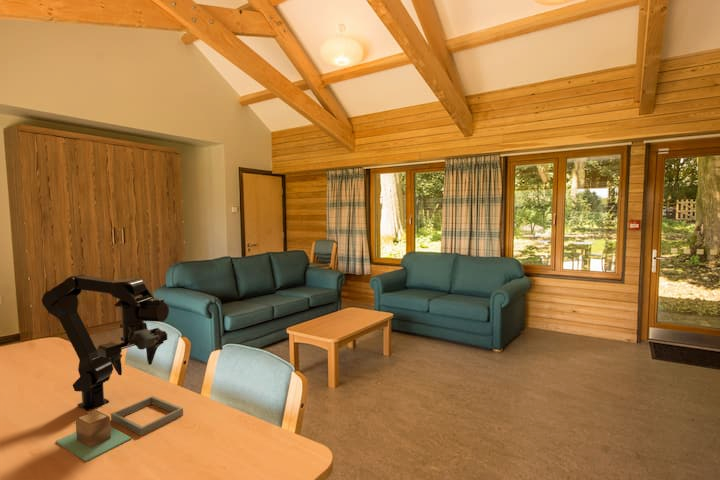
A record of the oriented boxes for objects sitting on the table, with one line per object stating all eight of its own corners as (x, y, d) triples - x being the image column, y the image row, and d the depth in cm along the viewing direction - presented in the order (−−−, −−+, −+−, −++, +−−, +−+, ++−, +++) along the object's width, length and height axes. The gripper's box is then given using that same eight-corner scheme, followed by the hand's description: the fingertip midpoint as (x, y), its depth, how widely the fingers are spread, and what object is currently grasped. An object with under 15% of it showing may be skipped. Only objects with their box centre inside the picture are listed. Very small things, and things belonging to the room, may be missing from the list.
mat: (55, 442, 102) (55, 440, 102) (100, 422, 112) (100, 421, 112) (85, 462, 94) (85, 460, 94) (131, 439, 104) (131, 437, 104)
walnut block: (90, 448, 99) (88, 425, 99) (76, 440, 103) (75, 417, 102) (110, 438, 103) (109, 416, 103) (97, 430, 107) (96, 409, 106)
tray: (111, 420, 113) (110, 413, 113) (152, 401, 124) (152, 395, 124) (141, 435, 105) (141, 428, 105) (183, 414, 116) (183, 408, 116)
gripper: (115, 332, 107) (118, 387, 108) (176, 316, 123) (178, 364, 124) (94, 326, 112) (97, 378, 113) (156, 312, 128) (158, 357, 129)
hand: (135, 369), depth 120 cm, fingers open, 9 cm apart
